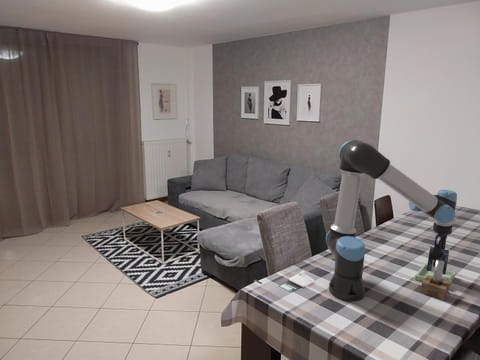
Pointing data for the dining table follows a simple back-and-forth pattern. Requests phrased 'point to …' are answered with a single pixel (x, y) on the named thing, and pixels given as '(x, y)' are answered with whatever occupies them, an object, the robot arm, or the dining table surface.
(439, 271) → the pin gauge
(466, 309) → the dining table surface
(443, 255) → the box
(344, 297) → the robot arm
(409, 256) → the dining table surface
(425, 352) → the dining table surface
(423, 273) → the tray
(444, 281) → the tan square frame
